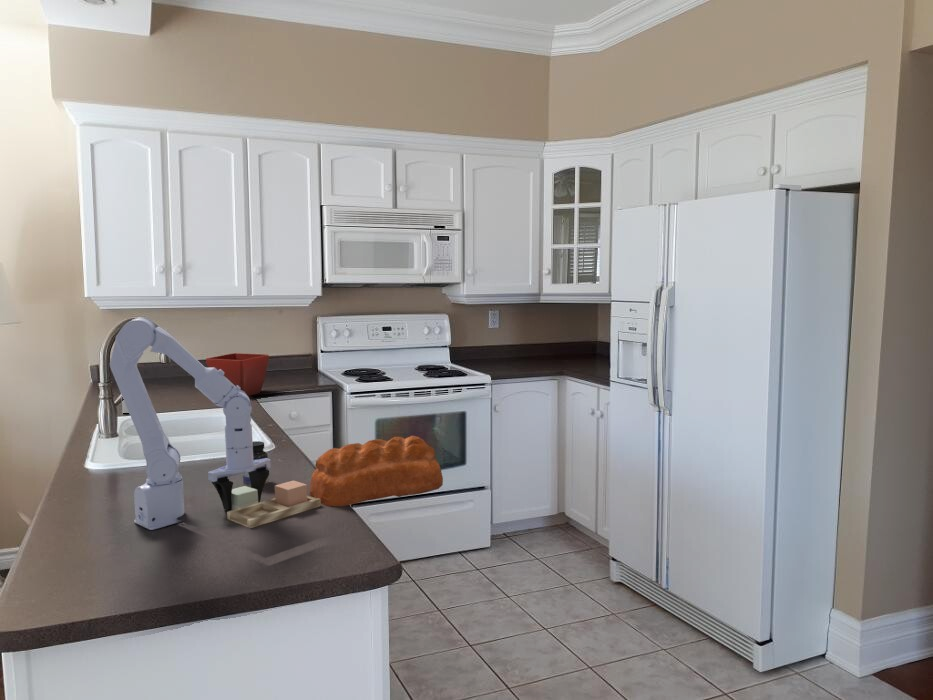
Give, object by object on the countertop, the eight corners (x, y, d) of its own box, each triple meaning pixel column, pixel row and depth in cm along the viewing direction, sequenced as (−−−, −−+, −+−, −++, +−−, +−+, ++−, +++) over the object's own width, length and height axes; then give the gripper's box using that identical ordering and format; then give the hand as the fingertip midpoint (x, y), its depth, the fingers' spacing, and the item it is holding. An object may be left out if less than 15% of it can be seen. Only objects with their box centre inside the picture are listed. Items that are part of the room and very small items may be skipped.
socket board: (250, 533, 149) (250, 521, 149) (227, 523, 155) (226, 511, 155) (321, 510, 163) (321, 499, 162) (297, 502, 169) (296, 491, 168)
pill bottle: (259, 481, 186) (258, 439, 184) (273, 486, 182) (272, 442, 181) (238, 487, 181) (236, 443, 180) (252, 491, 177) (250, 447, 176)
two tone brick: (238, 517, 159) (237, 495, 159) (226, 512, 163) (225, 491, 162) (258, 511, 163) (257, 489, 163) (246, 506, 166) (245, 485, 166)
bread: (449, 489, 178) (448, 437, 176) (329, 515, 160) (327, 457, 159) (417, 474, 191) (416, 425, 189) (303, 497, 173) (301, 443, 172)
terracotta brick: (288, 512, 158) (288, 489, 158) (275, 507, 162) (274, 485, 161) (307, 506, 162) (306, 484, 162) (294, 501, 165) (293, 480, 165)
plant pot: (243, 400, 302) (241, 359, 300) (206, 397, 309) (204, 358, 307) (271, 392, 320) (269, 354, 318) (235, 390, 326) (234, 353, 324)
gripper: (219, 455, 153) (222, 518, 155) (277, 442, 164) (280, 500, 166) (201, 450, 158) (205, 511, 159) (259, 438, 169) (262, 494, 170)
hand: (242, 505), depth 163 cm, fingers open, 7 cm apart
